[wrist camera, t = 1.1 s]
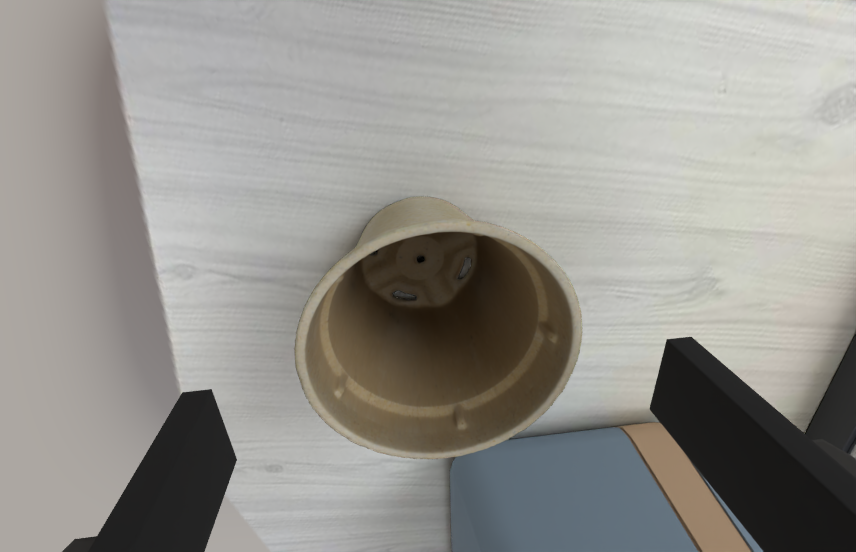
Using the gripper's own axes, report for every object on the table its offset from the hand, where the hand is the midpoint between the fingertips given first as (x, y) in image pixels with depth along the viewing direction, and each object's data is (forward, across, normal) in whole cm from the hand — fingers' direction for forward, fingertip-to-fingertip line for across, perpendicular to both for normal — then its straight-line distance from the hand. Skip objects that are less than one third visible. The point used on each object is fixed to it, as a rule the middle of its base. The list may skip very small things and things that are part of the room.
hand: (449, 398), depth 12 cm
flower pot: (+10, 0, 0) cm, 10 cm away
